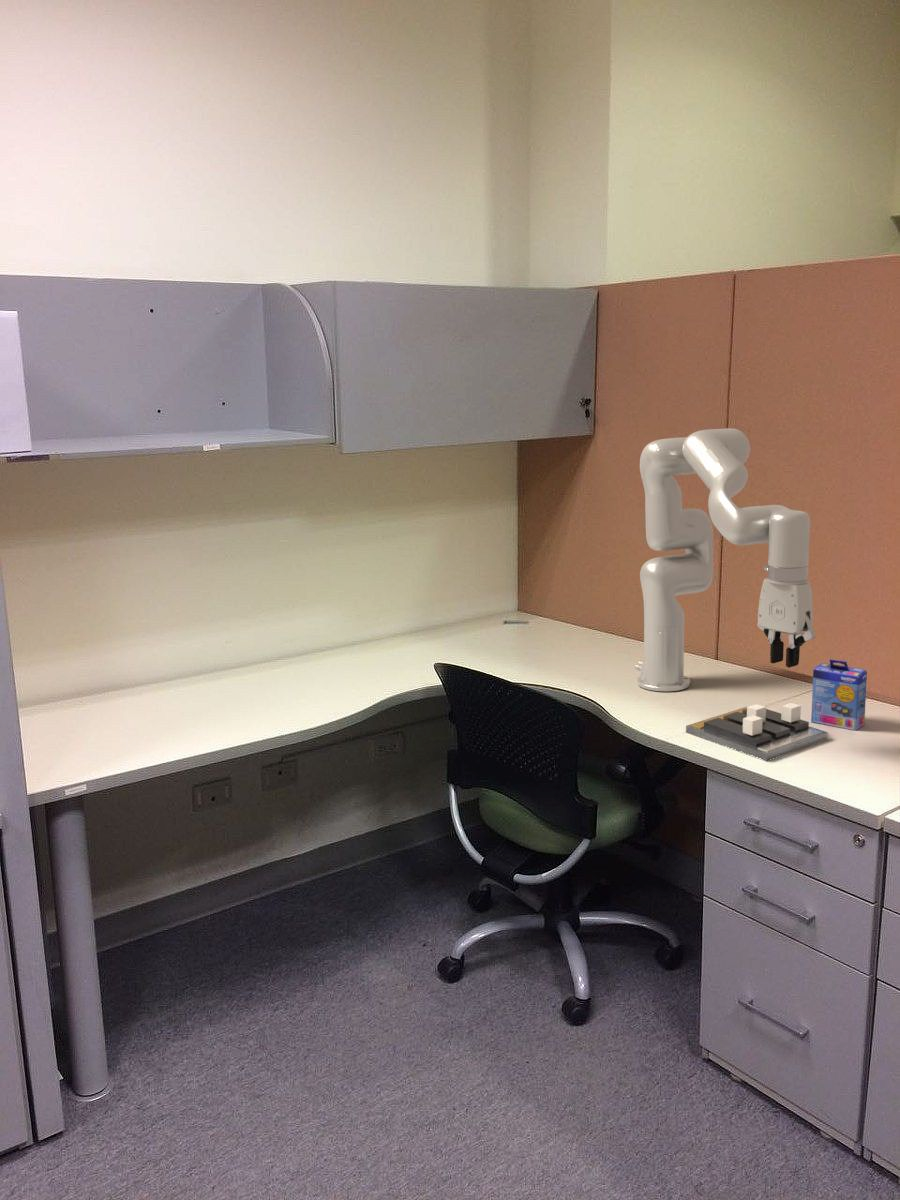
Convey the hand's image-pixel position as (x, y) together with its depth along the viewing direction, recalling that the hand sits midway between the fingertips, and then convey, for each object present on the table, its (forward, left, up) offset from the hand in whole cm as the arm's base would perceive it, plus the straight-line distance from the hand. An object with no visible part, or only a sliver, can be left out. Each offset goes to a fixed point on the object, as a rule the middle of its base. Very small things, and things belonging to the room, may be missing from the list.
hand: (784, 663), depth 201 cm
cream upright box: (-3, -6, -14) cm, 15 cm away
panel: (-7, 0, -17) cm, 18 cm away
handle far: (-3, +6, -14) cm, 15 cm away
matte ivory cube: (-6, 0, -14) cm, 15 cm away
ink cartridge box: (-1, +19, -17) cm, 26 cm away
